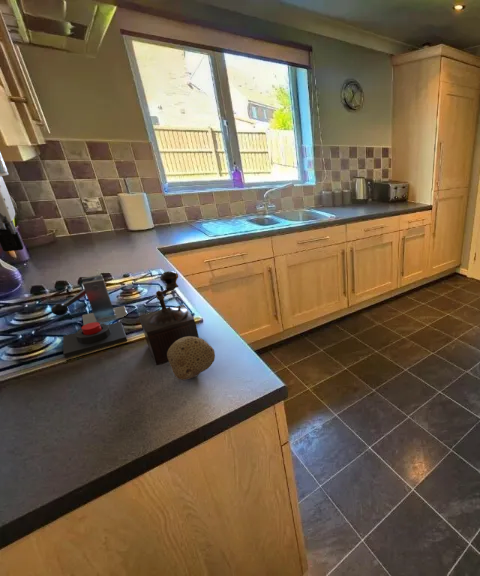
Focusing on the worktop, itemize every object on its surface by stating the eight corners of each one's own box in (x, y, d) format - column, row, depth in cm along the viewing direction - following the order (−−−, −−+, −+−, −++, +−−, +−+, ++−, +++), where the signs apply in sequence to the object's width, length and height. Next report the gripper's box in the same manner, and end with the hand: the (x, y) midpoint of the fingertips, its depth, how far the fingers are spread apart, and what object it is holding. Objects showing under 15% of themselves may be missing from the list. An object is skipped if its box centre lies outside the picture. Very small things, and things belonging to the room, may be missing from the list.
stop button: (84, 337, 81) (81, 331, 81) (83, 330, 84) (81, 325, 83) (102, 332, 84) (100, 326, 83) (101, 326, 86) (99, 320, 85)
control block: (66, 361, 78) (60, 347, 77) (66, 343, 85) (60, 329, 83) (128, 344, 86) (124, 330, 84) (123, 328, 92) (119, 315, 91)
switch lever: (59, 319, 88) (47, 312, 86) (59, 314, 90) (47, 307, 88) (105, 287, 92) (94, 279, 90) (104, 283, 95) (93, 275, 92)
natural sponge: (217, 359, 81) (210, 325, 77) (218, 381, 74) (211, 344, 70) (174, 368, 78) (165, 332, 73) (171, 392, 70) (161, 354, 66)
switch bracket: (85, 330, 91) (68, 288, 85) (83, 318, 96) (68, 278, 91) (129, 319, 97) (116, 279, 92) (125, 308, 102) (113, 270, 97)
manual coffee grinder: (205, 349, 85) (192, 286, 78) (155, 366, 78) (135, 298, 71) (188, 325, 95) (175, 267, 88) (143, 338, 88) (124, 276, 81)
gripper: (-40, 164, 73) (-6, 244, 80) (-56, 171, 63) (-15, 261, 70) (9, 164, 77) (38, 240, 85) (2, 171, 67) (34, 256, 75)
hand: (14, 249), depth 77 cm, fingers closed
